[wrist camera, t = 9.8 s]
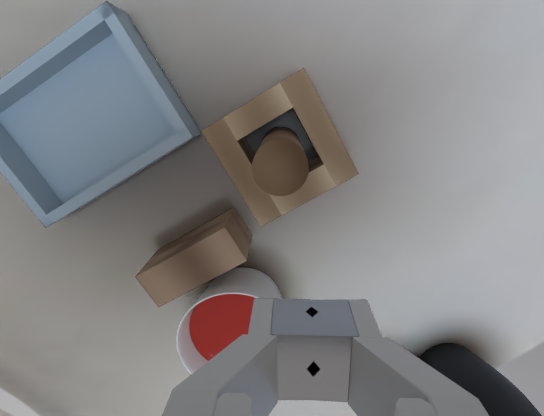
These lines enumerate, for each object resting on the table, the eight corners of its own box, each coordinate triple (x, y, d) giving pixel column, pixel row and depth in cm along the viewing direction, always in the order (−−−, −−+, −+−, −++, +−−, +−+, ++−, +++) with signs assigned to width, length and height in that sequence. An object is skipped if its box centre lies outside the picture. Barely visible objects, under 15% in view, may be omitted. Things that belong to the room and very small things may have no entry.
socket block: (263, 210, 29) (260, 226, 26) (212, 127, 27) (200, 131, 24) (348, 163, 28) (358, 173, 24) (300, 72, 26) (303, 67, 22)
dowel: (274, 170, 28) (269, 205, 19) (255, 138, 28) (241, 158, 18) (306, 152, 28) (318, 179, 18) (288, 119, 27) (291, 128, 18)
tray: (68, 215, 30) (45, 227, 27) (-13, 112, 28) (-47, 113, 25) (201, 133, 28) (192, 137, 25) (126, 12, 25) (106, 1, 22)
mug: (387, 308, 32) (429, 391, 23) (504, 344, 33) (591, 438, 23) (353, 376, 34) (378, 476, 25) (463, 409, 35) (527, 517, 26)
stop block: (177, 276, 31) (158, 307, 27) (158, 249, 31) (135, 276, 26) (252, 235, 30) (246, 260, 25) (234, 207, 29) (224, 227, 25)
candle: (266, 239, 30) (262, 273, 24) (308, 319, 32) (314, 370, 26) (178, 278, 32) (153, 320, 25) (224, 353, 34) (211, 407, 28)
